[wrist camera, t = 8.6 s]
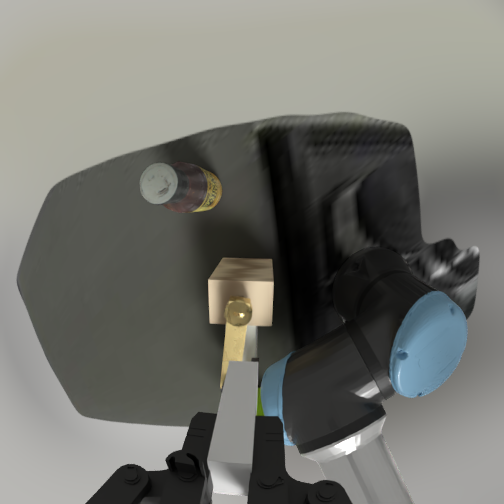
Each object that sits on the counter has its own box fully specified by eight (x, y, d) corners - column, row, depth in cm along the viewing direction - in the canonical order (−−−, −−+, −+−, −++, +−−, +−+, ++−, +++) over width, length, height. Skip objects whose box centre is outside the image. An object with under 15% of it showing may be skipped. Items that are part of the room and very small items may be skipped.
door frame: (271, 258, 46) (274, 288, 31) (267, 362, 50) (267, 416, 35) (222, 257, 46) (203, 286, 32) (225, 360, 50) (212, 412, 36)
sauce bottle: (224, 209, 44) (192, 221, 25) (186, 211, 45) (131, 225, 25) (222, 168, 43) (189, 150, 24) (185, 171, 43) (128, 158, 24)
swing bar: (227, 294, 33) (223, 304, 30) (254, 298, 33) (253, 309, 30) (218, 380, 35) (215, 395, 32) (241, 384, 35) (239, 398, 32)
